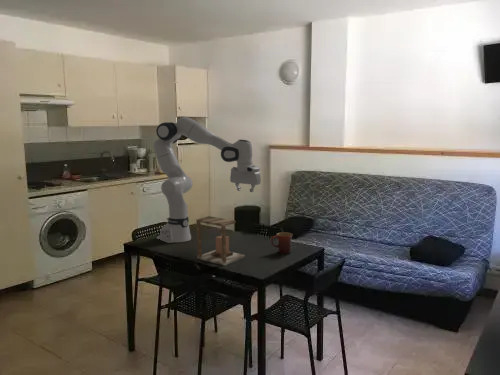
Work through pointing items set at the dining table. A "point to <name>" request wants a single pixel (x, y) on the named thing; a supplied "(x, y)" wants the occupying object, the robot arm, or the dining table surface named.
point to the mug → (283, 242)
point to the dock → (223, 258)
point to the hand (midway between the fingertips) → (245, 191)
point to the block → (219, 244)
